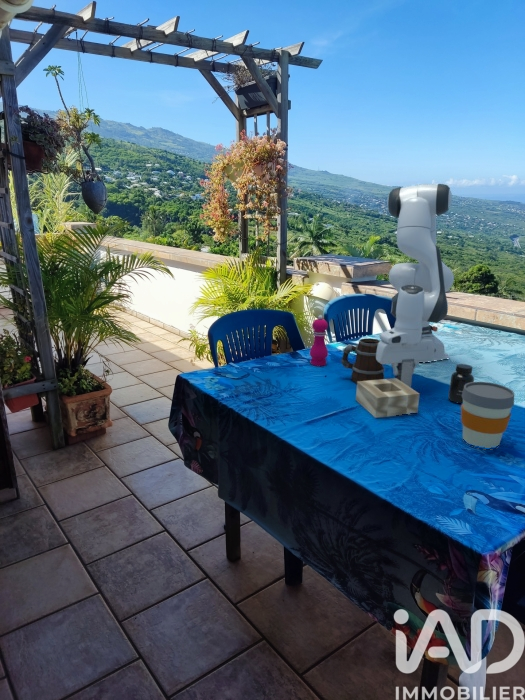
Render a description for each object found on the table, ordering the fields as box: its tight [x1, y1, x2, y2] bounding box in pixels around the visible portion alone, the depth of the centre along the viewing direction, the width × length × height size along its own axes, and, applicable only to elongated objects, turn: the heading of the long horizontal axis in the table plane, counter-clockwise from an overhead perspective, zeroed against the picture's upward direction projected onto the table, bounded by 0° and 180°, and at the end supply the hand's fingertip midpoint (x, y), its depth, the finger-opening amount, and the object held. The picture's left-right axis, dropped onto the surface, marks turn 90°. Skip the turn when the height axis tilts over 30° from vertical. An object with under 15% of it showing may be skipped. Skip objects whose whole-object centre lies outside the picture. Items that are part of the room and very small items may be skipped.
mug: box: [340, 337, 385, 385], centre depth 170 cm, size 16×12×15 cm
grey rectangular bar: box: [394, 359, 414, 388], centre depth 160 cm, size 4×4×12 cm
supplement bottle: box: [447, 363, 475, 403], centre depth 153 cm, size 7×7×12 cm
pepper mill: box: [309, 314, 329, 367], centre depth 187 cm, size 7×7×20 cm
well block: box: [355, 377, 420, 419], centre depth 148 cm, size 14×14×6 cm
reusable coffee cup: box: [460, 381, 515, 448], centre depth 125 cm, size 13×13×15 cm
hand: (403, 374), depth 160 cm, fingers closed on grey rectangular bar, 4 cm apart
